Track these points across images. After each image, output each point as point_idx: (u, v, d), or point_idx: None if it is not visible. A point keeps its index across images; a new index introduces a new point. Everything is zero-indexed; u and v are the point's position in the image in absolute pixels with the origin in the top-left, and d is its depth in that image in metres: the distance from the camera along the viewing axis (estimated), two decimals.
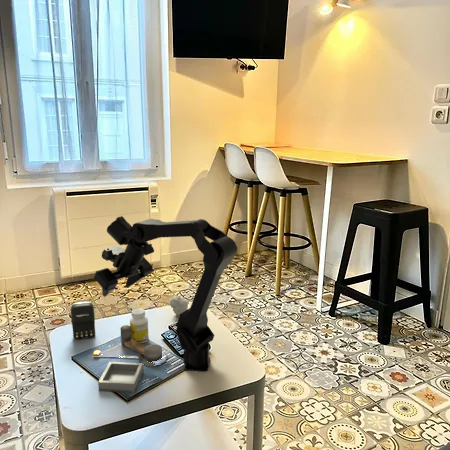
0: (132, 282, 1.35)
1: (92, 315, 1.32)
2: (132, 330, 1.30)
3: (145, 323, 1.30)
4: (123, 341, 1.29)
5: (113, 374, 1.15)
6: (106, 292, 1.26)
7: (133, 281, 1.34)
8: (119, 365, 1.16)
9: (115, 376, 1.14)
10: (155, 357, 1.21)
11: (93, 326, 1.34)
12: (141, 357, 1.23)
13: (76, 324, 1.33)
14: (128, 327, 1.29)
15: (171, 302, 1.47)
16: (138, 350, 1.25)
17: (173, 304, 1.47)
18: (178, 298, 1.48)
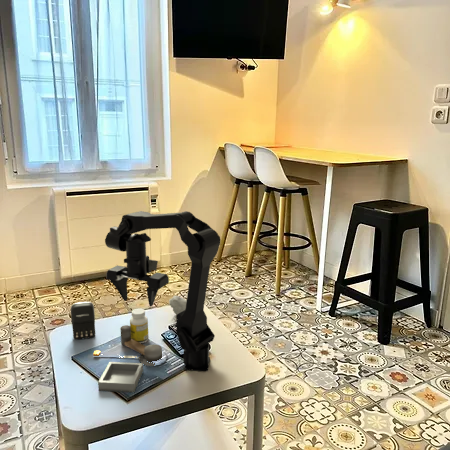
0: None
1: (92, 315, 1.32)
2: (132, 330, 1.30)
3: (145, 323, 1.30)
4: (123, 341, 1.29)
5: (113, 374, 1.15)
6: None
7: None
8: (119, 365, 1.16)
9: (115, 376, 1.14)
10: (155, 357, 1.21)
11: (93, 326, 1.34)
12: (141, 357, 1.23)
13: (76, 324, 1.33)
14: (128, 327, 1.29)
15: (171, 302, 1.47)
16: (138, 350, 1.25)
17: (173, 304, 1.47)
18: (178, 298, 1.48)
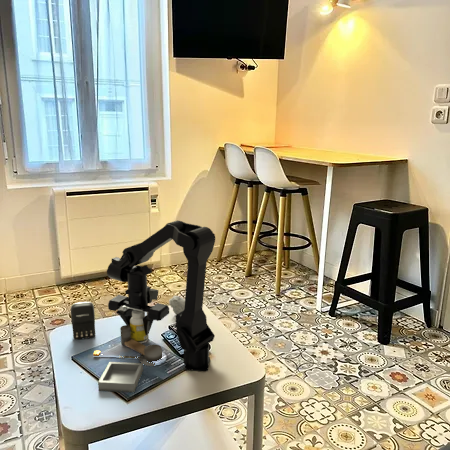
0: None
1: (92, 315, 1.32)
2: (132, 330, 1.30)
3: None
4: (123, 341, 1.29)
5: (113, 374, 1.15)
6: None
7: None
8: (119, 365, 1.16)
9: (115, 376, 1.14)
10: (155, 357, 1.21)
11: (93, 326, 1.34)
12: (141, 357, 1.23)
13: (76, 324, 1.33)
14: (128, 327, 1.29)
15: (171, 302, 1.47)
16: (138, 350, 1.25)
17: (173, 304, 1.47)
18: (178, 298, 1.48)
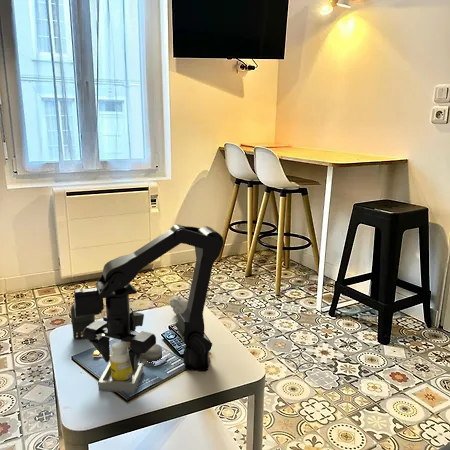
0: None
1: None
2: (112, 368, 1.10)
3: (128, 360, 1.10)
4: (123, 341, 1.29)
5: None
6: None
7: None
8: None
9: None
10: (155, 357, 1.21)
11: None
12: (141, 357, 1.23)
13: (76, 324, 1.33)
14: None
15: (171, 302, 1.47)
16: None
17: (173, 304, 1.47)
18: (178, 298, 1.48)
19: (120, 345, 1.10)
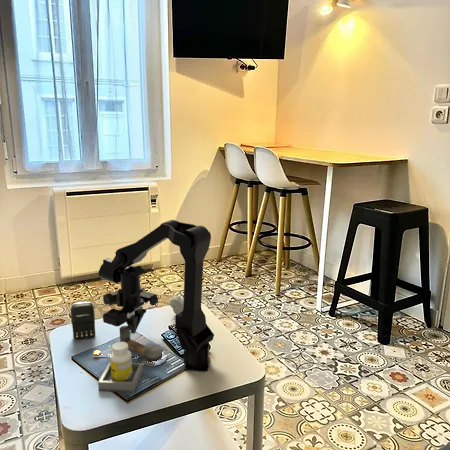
0: None
1: (92, 315, 1.32)
2: (112, 368, 1.10)
3: (128, 360, 1.10)
4: (122, 341, 1.28)
5: None
6: (132, 326, 1.30)
7: None
8: None
9: None
10: (155, 357, 1.21)
11: (93, 326, 1.34)
12: (141, 357, 1.23)
13: (76, 324, 1.33)
14: (127, 327, 1.29)
15: (171, 302, 1.47)
16: (138, 350, 1.25)
17: (173, 304, 1.47)
18: (178, 298, 1.48)
19: (120, 345, 1.10)
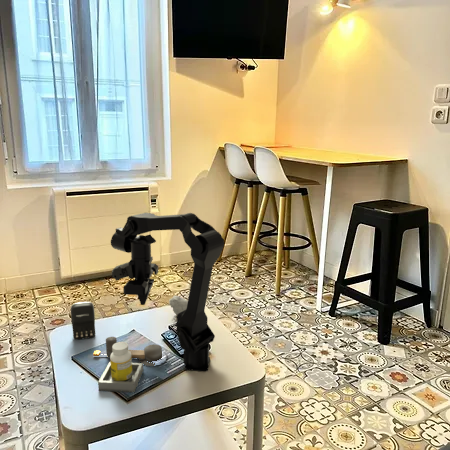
0: None
1: (92, 315, 1.32)
2: (112, 368, 1.10)
3: (128, 360, 1.10)
4: None
5: None
6: (145, 297, 1.28)
7: (147, 293, 1.30)
8: None
9: None
10: (159, 356, 1.22)
11: (93, 326, 1.34)
12: None
13: (76, 324, 1.33)
14: (113, 338, 1.23)
15: (171, 302, 1.47)
16: (135, 356, 1.22)
17: (173, 304, 1.47)
18: (178, 298, 1.48)
19: (120, 345, 1.10)
